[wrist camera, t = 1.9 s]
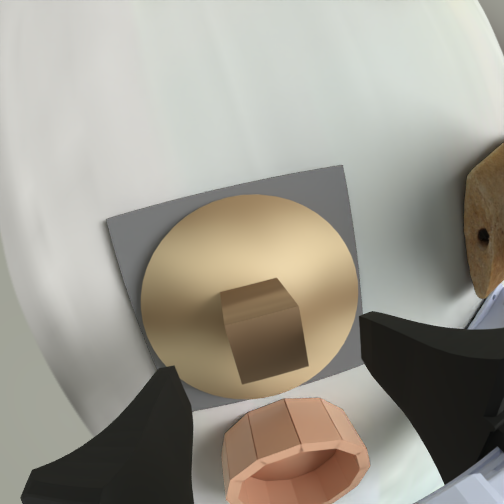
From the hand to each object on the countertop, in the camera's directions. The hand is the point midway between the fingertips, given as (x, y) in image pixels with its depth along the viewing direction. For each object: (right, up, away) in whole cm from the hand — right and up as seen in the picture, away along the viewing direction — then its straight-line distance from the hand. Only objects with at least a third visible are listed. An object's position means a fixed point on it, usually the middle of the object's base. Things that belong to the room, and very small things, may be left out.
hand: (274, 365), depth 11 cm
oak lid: (-1, +1, +6) cm, 6 cm away
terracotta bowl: (+2, -11, +9) cm, 14 cm away
